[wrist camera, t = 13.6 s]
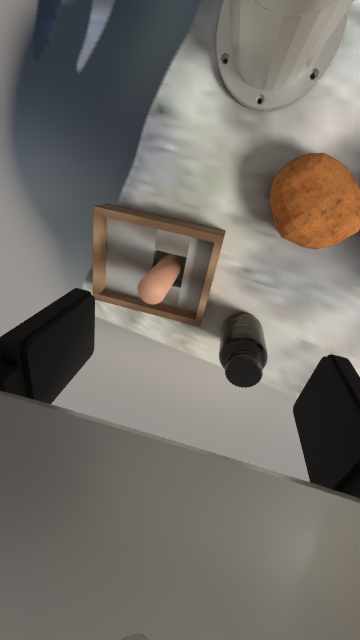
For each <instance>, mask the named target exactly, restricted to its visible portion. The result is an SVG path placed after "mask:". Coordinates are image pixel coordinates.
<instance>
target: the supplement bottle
mask: <svg viewBox="0 0 360 640" xmlns="http://www.w3.org/2000/svg"><path fill="white" fill-rule="evenodd" d="M267 358H268V357H267V349H266V344H265V339H264V334H263V329H262V326H261V323H260V322H259V320H258V319H257V318H255V317H254V316H252V315H250V314H246V313H238V314H234V315H232V316H230V317H229V318H227V319H226V321H225V322H224V323H223V326H222V331H221V340H220V351H219V359H220V363H221V365H222V366H223V368H224V369H225V375H226V378H227V379H228V380H229V381H230V383H232V384H234V385H235V386H238V387H245V388H246V387H251V386H253V385H256V384H257V383H258V382H259V381H260V379H261V378H262V369H263V368H264V367H265V365H266V363H267Z"/></svg>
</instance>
